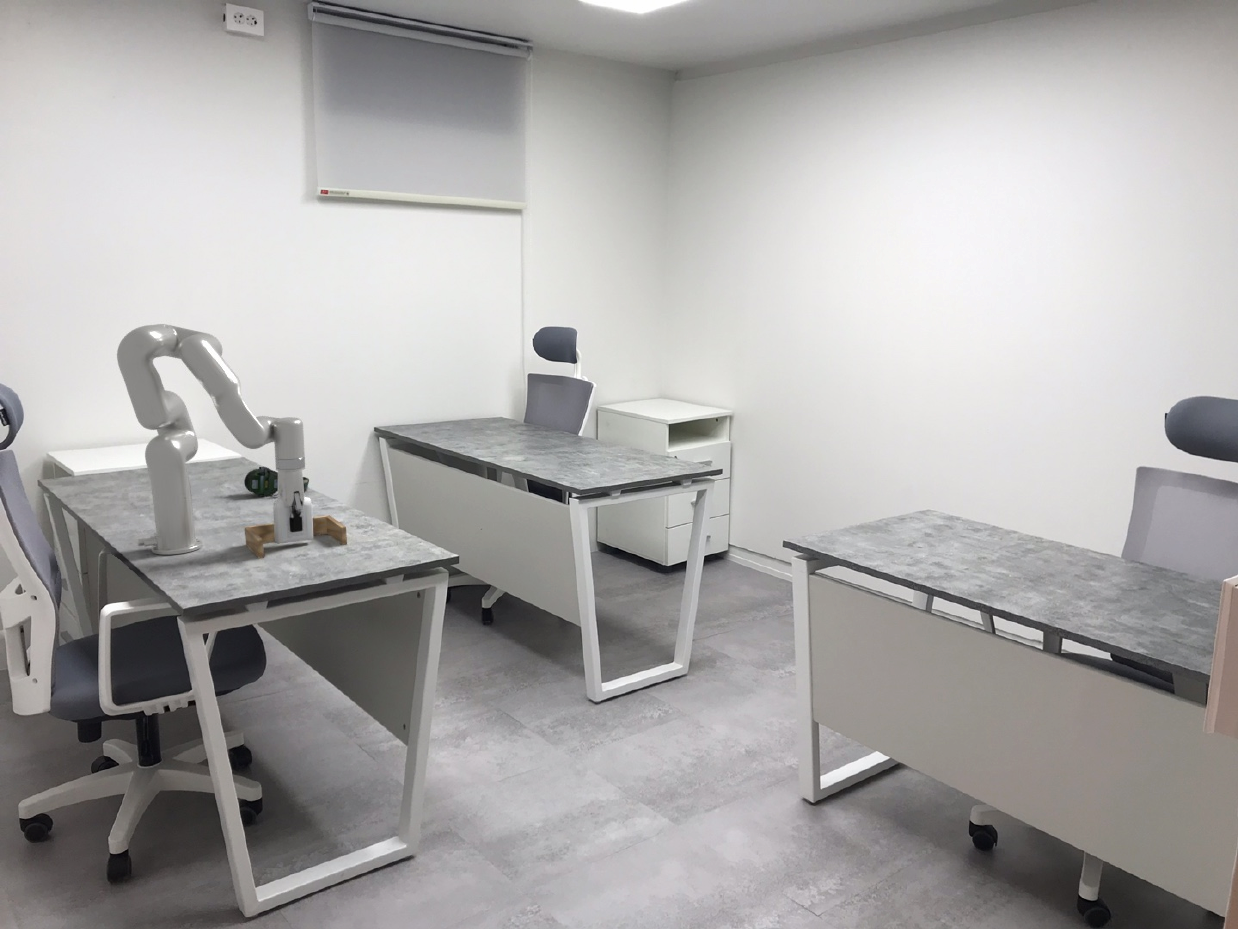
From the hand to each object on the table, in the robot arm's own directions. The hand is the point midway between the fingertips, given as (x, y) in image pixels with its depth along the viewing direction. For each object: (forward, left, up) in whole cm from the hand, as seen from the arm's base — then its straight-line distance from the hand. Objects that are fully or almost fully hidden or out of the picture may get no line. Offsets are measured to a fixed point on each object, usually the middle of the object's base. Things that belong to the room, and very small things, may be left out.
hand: (293, 528), depth 262 cm
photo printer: (0, 0, -4) cm, 4 cm away
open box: (+1, 0, -5) cm, 5 cm away
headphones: (+12, +68, -5) cm, 70 cm away
